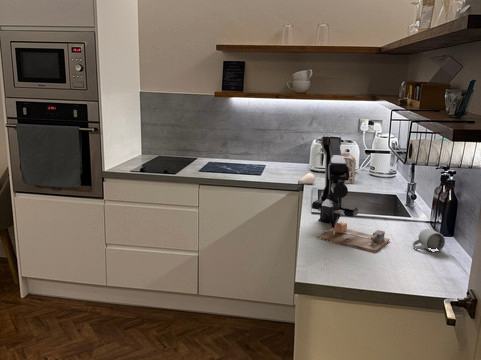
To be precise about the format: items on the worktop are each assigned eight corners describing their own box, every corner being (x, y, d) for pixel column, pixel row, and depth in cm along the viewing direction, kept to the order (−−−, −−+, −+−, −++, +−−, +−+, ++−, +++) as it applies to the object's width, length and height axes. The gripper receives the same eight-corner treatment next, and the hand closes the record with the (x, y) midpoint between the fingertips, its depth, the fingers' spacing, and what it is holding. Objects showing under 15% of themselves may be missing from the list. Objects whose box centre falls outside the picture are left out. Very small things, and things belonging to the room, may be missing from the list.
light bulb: (298, 177, 281) (315, 171, 284) (294, 177, 288) (310, 171, 290) (301, 188, 282) (318, 182, 285) (297, 187, 288) (313, 181, 291)
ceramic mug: (433, 244, 192) (435, 226, 190) (444, 252, 184) (446, 233, 182) (408, 245, 191) (410, 227, 189) (418, 253, 183) (420, 234, 181)
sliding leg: (329, 234, 195) (330, 227, 194) (339, 228, 203) (340, 221, 202) (336, 236, 193) (337, 229, 193) (346, 230, 201) (347, 223, 201)
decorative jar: (354, 183, 291) (357, 154, 286) (335, 183, 291) (337, 153, 287) (350, 179, 302) (352, 151, 298) (331, 178, 302) (334, 150, 298)
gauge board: (317, 238, 194) (318, 227, 193) (334, 228, 207) (335, 218, 206) (375, 252, 181) (376, 241, 180) (389, 241, 194) (390, 230, 193)
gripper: (306, 191, 197) (304, 227, 201) (349, 199, 187) (346, 237, 190) (318, 186, 206) (316, 221, 209) (360, 194, 195) (356, 230, 199)
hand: (333, 227), depth 202 cm, fingers closed
